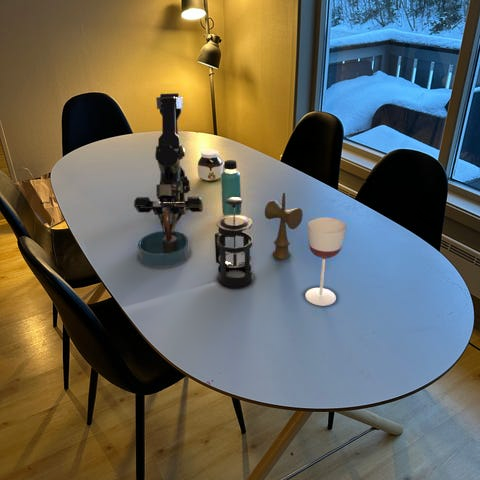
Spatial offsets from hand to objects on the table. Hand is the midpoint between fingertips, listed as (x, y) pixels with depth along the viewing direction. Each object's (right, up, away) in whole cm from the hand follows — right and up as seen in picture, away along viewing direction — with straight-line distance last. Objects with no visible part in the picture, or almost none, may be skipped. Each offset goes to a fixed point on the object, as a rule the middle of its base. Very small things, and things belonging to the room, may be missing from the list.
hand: (167, 233), depth 124 cm
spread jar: (+9, +22, +62) cm, 66 cm away
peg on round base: (0, -6, +5) cm, 7 cm away
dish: (-2, -6, +6) cm, 9 cm away
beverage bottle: (+17, +5, +28) cm, 33 cm away
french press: (+18, -12, -5) cm, 22 cm away
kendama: (+32, -7, +5) cm, 33 cm away
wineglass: (+40, -16, -12) cm, 45 cm away
